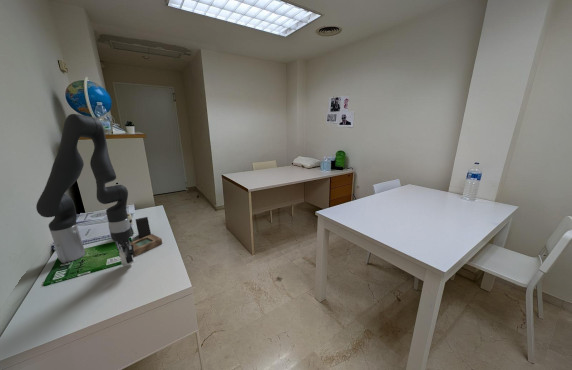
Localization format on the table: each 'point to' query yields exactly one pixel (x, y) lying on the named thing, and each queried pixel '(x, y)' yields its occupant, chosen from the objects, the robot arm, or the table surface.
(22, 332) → the table surface
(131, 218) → the character mug
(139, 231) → the phone stand
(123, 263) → the white rounded cylinder
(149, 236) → the wooden frame
